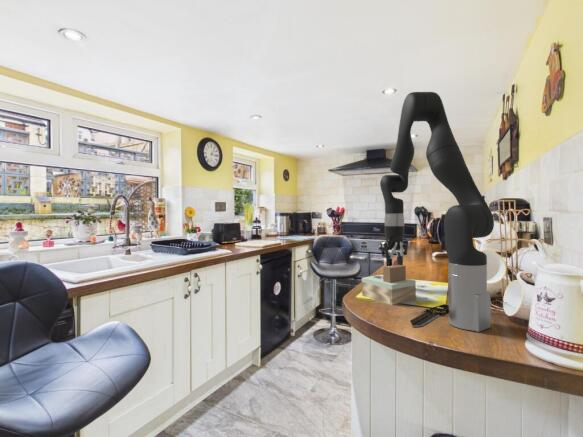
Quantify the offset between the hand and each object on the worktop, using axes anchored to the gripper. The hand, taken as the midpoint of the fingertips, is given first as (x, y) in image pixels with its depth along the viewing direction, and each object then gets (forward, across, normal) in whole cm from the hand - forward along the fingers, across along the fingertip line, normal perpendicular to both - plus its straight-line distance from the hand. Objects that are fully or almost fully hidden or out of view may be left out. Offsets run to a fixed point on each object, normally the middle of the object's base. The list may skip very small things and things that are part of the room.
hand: (394, 266), depth 125 cm
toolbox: (+9, -13, -8) cm, 18 cm away
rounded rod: (+9, 0, 0) cm, 9 cm away
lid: (+3, -13, -8) cm, 16 cm away
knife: (+10, -16, -27) cm, 33 cm away
